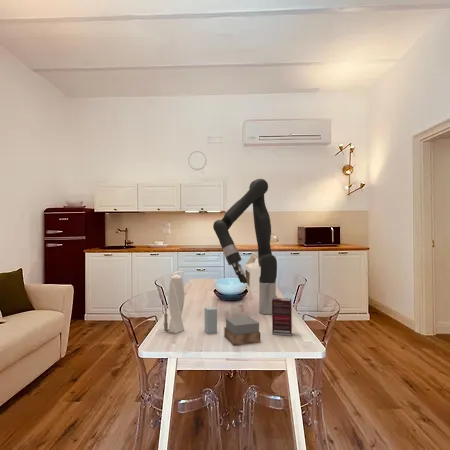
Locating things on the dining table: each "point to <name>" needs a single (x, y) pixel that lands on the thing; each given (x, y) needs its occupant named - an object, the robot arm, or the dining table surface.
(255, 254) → the gable box
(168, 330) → the skyscraper
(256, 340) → the walnut slab
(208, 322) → the slate block
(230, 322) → the charcoal block
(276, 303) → the supplement box
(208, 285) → the dining table surface
